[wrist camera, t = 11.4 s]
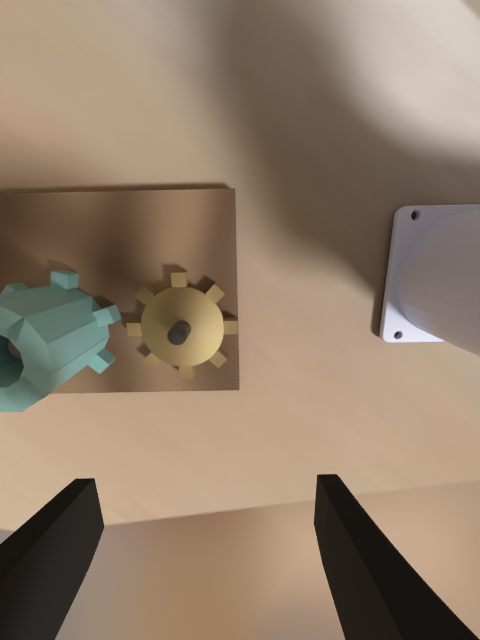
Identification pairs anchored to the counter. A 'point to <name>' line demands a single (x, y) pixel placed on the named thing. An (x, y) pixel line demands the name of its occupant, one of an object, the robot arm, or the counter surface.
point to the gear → (49, 338)
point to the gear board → (138, 279)
